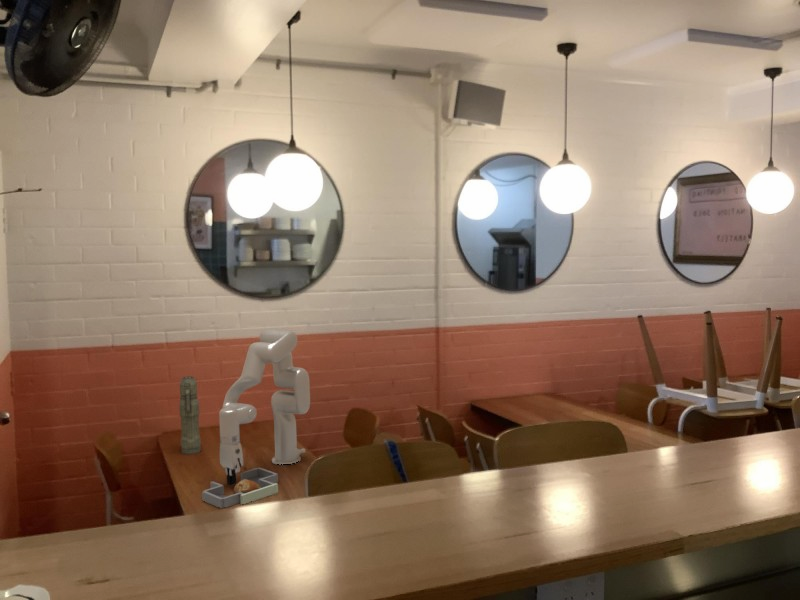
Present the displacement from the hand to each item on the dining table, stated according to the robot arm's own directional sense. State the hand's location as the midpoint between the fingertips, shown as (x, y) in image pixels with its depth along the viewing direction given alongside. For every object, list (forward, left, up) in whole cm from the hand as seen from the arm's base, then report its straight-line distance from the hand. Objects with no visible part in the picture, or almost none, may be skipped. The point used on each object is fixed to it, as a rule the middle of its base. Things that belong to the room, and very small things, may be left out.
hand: (231, 484), depth 289 cm
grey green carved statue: (-15, -54, -1) cm, 57 cm away
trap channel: (0, +8, -1) cm, 8 cm away
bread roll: (+1, +12, -2) cm, 12 cm away
